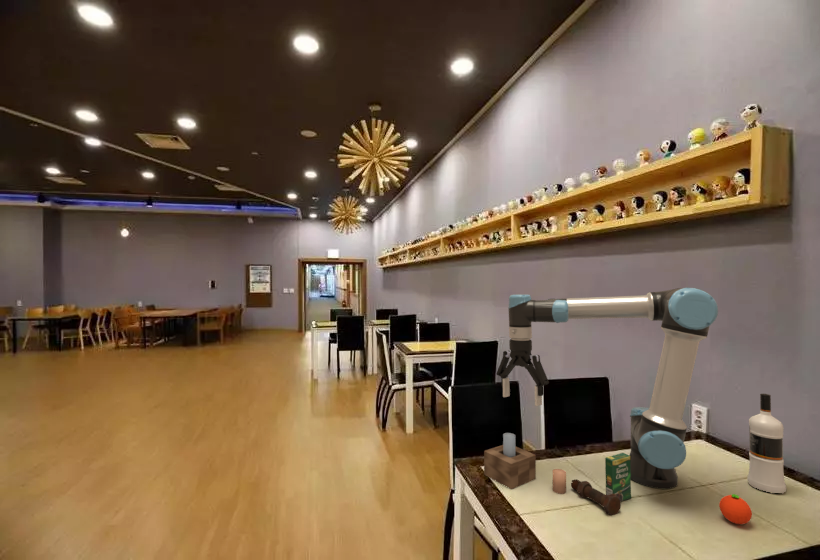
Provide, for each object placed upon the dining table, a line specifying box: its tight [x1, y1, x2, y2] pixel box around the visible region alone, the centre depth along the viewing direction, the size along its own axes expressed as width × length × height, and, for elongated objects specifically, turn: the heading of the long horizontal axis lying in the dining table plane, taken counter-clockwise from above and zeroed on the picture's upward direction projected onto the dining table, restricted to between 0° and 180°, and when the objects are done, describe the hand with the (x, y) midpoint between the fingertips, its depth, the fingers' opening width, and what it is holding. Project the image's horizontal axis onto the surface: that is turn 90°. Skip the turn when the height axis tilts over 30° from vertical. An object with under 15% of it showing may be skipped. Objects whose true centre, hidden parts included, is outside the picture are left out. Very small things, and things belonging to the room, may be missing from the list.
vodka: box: [746, 393, 787, 494], centre depth 127 cm, size 9×9×30 cm
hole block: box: [483, 444, 537, 490], centre depth 133 cm, size 12×12×8 cm
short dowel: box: [552, 468, 567, 495], centre depth 124 cm, size 4×4×6 cm
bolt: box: [570, 479, 622, 516], centre depth 118 cm, size 6×5×15 cm
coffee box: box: [604, 452, 632, 502], centre depth 119 cm, size 8×3×13 cm, turn 113°
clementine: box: [718, 493, 753, 525], centre depth 108 cm, size 8×7×7 cm
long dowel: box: [502, 432, 516, 458], centre depth 133 cm, size 4×4×14 cm
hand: (521, 400), depth 136 cm, fingers open, 13 cm apart
